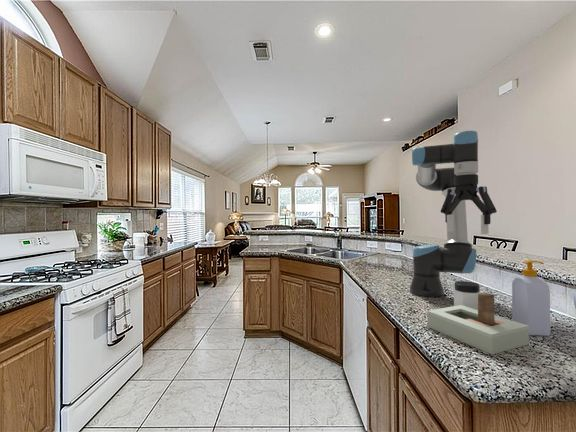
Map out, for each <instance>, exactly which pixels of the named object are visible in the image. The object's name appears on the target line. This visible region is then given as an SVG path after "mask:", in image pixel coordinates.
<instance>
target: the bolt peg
mask: <svg viewBox="0 0 576 432" xmlns="http://www.w3.org/2000/svg"><path fill="white" fill-rule="evenodd" d="M494 315H495V294H492V293H489V292H480V293H478V322H481V323H484V324H487V325H489V326H495V317H494Z"/></svg>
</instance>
